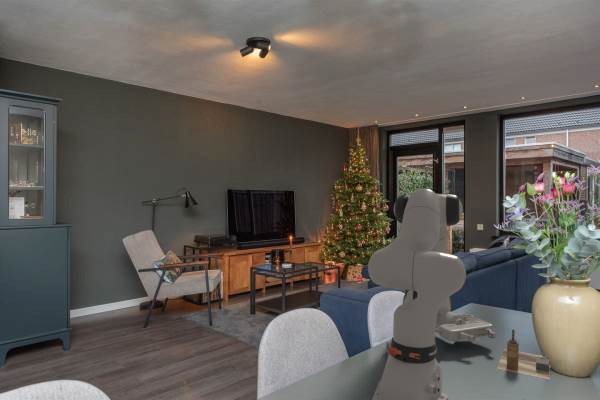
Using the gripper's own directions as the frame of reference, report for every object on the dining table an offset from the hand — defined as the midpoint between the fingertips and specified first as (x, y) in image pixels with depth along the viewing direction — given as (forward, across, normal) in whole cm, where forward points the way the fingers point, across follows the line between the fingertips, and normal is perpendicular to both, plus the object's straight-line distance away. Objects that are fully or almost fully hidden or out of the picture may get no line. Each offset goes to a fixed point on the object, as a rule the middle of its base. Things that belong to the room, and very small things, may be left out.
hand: (484, 337), depth 141 cm
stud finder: (+14, +10, +6) cm, 18 cm away
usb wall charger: (-13, -25, +7) cm, 29 cm away
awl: (+11, 0, +6) cm, 13 cm away
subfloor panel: (+10, +8, +7) cm, 14 cm away
